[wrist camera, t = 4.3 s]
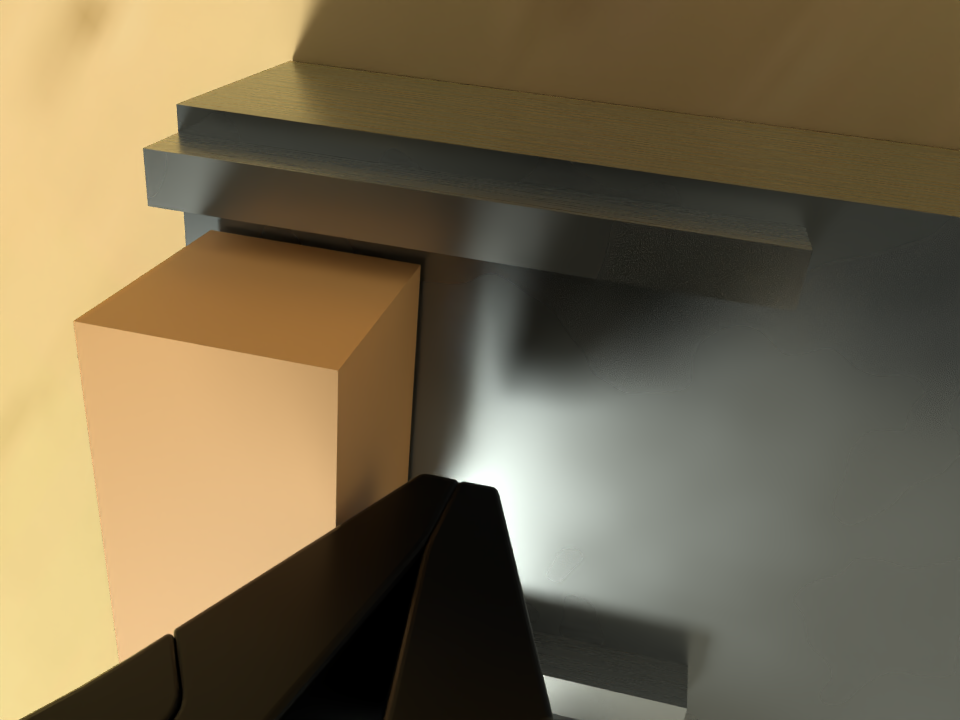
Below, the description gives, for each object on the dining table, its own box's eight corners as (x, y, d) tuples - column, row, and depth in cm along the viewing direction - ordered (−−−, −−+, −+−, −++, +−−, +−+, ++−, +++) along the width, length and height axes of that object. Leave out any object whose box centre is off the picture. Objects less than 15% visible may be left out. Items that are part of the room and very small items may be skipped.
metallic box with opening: (1092, 168, 11) (1263, 282, 7) (753, 996, 19) (764, 1222, 16) (289, 61, 12) (139, 117, 9) (297, 870, 20) (221, 1053, 17)
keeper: (420, 264, 10) (337, 370, 7) (401, 582, 12) (332, 739, 9) (210, 230, 10) (73, 320, 8) (228, 544, 12) (122, 687, 10)
